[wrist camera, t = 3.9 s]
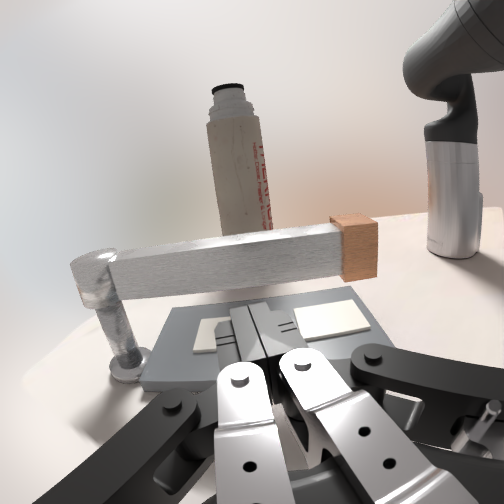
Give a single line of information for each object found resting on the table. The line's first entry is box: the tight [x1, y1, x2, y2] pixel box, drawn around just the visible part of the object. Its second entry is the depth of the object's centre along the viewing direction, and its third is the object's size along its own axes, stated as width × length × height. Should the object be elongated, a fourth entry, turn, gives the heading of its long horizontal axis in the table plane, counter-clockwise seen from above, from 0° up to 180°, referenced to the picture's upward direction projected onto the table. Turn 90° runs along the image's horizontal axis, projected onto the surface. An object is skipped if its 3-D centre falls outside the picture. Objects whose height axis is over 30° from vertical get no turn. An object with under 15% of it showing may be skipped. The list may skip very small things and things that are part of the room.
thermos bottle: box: [206, 83, 273, 236], centre depth 41 cm, size 8×8×28 cm
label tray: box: [139, 286, 396, 392], centre depth 24 cm, size 20×12×2 cm, turn 91°
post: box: [95, 300, 151, 384], centre depth 21 cm, size 4×4×7 cm
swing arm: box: [70, 213, 378, 309], centre depth 19 cm, size 22×4×4 cm, turn 91°
